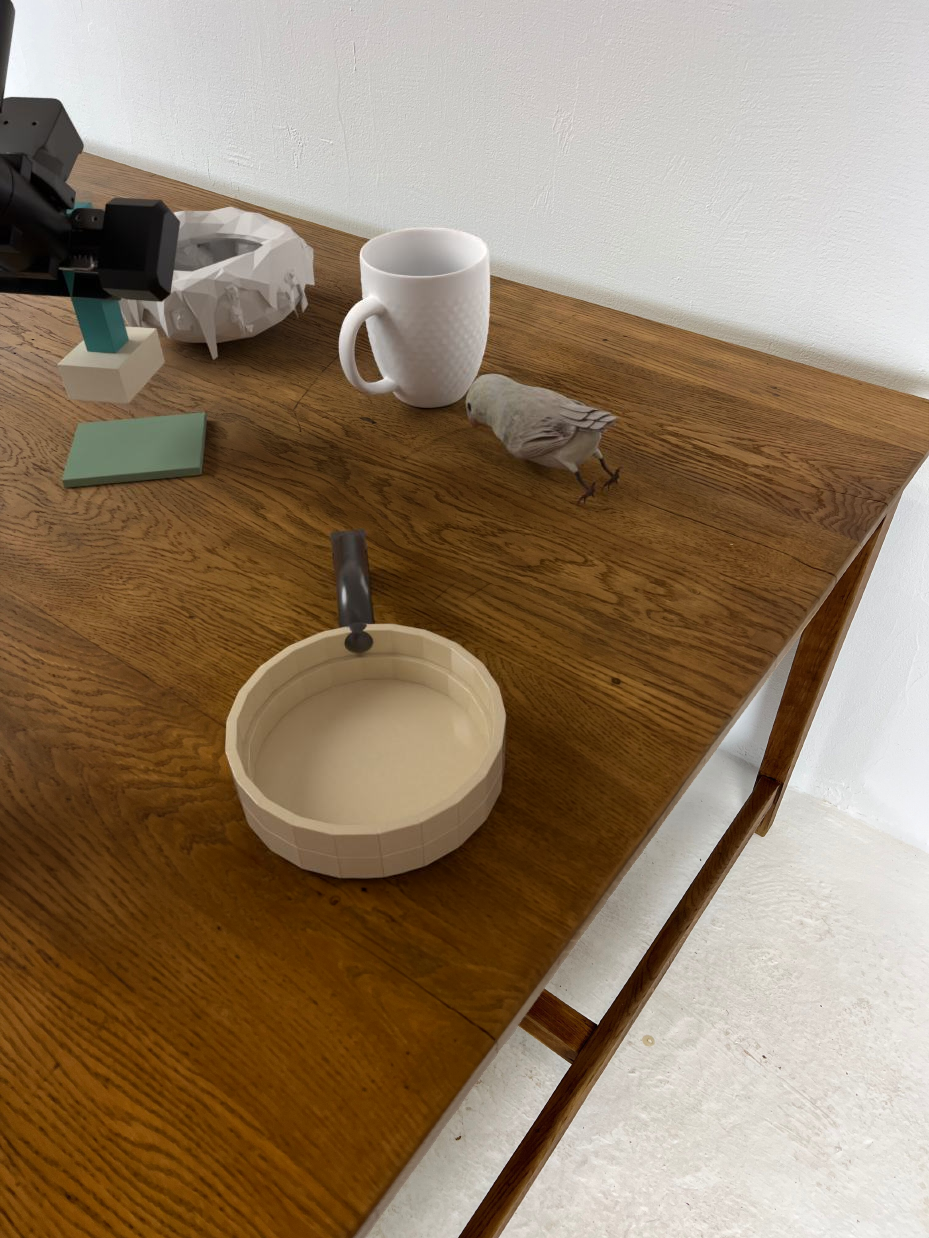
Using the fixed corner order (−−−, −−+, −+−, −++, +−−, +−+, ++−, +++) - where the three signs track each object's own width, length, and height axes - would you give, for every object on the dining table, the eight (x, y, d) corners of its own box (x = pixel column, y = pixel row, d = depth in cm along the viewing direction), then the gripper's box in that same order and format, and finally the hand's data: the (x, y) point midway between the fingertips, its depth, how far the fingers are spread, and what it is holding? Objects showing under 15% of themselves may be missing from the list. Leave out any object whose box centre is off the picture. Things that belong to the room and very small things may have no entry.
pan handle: (345, 691, 59) (337, 636, 56) (335, 571, 68) (328, 519, 65) (383, 686, 59) (377, 632, 56) (368, 568, 68) (363, 515, 65)
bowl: (87, 324, 99) (58, 227, 92) (260, 275, 108) (245, 183, 101) (170, 401, 86) (144, 296, 80) (357, 338, 95) (348, 238, 89)
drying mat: (64, 488, 76) (61, 480, 76) (80, 431, 83) (77, 423, 82) (201, 475, 77) (199, 467, 77) (207, 419, 84) (205, 411, 83)
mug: (391, 452, 79) (379, 303, 71) (313, 405, 85) (294, 263, 77) (514, 391, 87) (517, 249, 78) (435, 352, 93) (429, 216, 84)
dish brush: (128, 404, 73) (77, 226, 64) (68, 399, 73) (9, 223, 64) (165, 362, 78) (122, 192, 69) (109, 358, 78) (60, 189, 69)
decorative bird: (494, 415, 84) (494, 336, 79) (630, 491, 75) (641, 407, 70) (448, 437, 81) (446, 356, 76) (584, 518, 72) (591, 433, 67)
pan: (236, 905, 48) (219, 855, 45) (243, 690, 59) (230, 638, 56) (528, 864, 49) (530, 813, 46) (480, 661, 61) (480, 610, 58)
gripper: (131, 64, 56) (232, 196, 71) (-149, 56, 58) (7, 185, 74) (106, 247, 55) (213, 340, 71) (-175, 231, 58) (-13, 324, 73)
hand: (103, 292), depth 72 cm, fingers closed on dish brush, 2 cm apart
